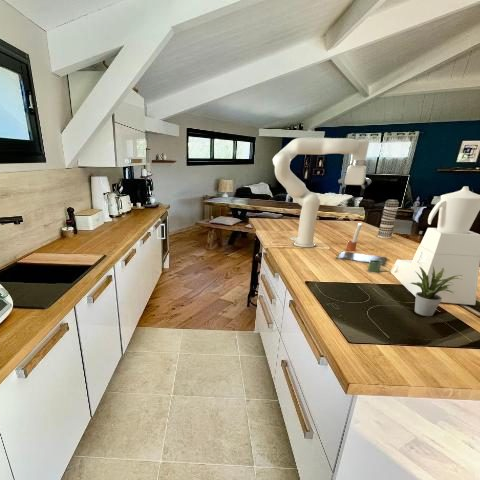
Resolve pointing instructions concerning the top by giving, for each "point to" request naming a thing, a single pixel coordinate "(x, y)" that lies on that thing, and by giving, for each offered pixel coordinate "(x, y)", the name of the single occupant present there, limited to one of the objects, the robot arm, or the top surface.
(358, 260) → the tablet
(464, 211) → the blender
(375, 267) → the green cube
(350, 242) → the reddish-brown cube
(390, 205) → the tower model
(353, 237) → the stylus
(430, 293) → the house plant
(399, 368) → the top surface
